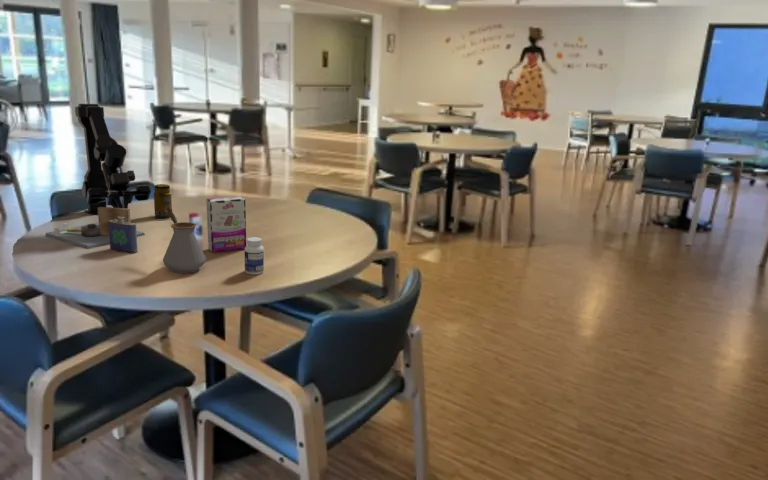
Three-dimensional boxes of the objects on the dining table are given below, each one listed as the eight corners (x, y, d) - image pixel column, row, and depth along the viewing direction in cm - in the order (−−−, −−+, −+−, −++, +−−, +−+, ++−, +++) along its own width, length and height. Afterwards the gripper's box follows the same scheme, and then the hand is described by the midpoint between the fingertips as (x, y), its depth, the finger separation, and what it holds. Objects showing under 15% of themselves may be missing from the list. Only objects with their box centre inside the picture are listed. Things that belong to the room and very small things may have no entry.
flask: (139, 251, 177) (137, 217, 174) (133, 254, 174) (130, 219, 171) (113, 247, 179) (111, 213, 176) (107, 250, 176) (104, 215, 173)
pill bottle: (246, 268, 168) (245, 236, 165) (264, 269, 168) (265, 236, 165) (243, 274, 162) (243, 241, 160) (262, 275, 163) (262, 242, 160)
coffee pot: (211, 272, 163) (210, 220, 159) (169, 278, 157) (167, 224, 152) (189, 251, 180) (187, 204, 176) (150, 255, 173) (147, 206, 169)
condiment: (169, 213, 222) (168, 182, 219) (177, 218, 216) (176, 187, 212) (150, 215, 217) (148, 184, 214) (157, 221, 211) (156, 188, 208)
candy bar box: (241, 245, 189) (241, 195, 185) (246, 249, 185) (246, 198, 181) (207, 248, 183) (205, 197, 179) (211, 253, 179) (210, 201, 175)
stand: (45, 235, 186) (44, 225, 185) (101, 223, 203) (101, 214, 202) (89, 248, 176) (88, 238, 175) (144, 235, 193) (144, 225, 192)
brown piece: (62, 234, 185) (59, 206, 182) (72, 229, 190) (70, 202, 188) (126, 238, 184) (124, 211, 182) (134, 233, 190) (132, 207, 187)
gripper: (85, 163, 180) (96, 205, 175) (147, 160, 191) (159, 200, 186) (82, 183, 188) (92, 224, 183) (142, 179, 199) (153, 218, 194)
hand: (125, 216), depth 186 cm, fingers closed
